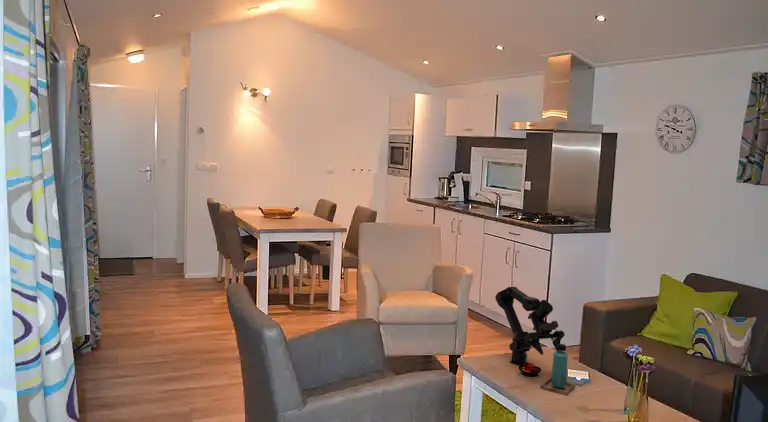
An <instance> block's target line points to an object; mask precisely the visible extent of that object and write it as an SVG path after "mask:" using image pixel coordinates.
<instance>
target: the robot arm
mask: <svg viewBox="0 0 768 422" xmlns="http://www.w3.org/2000/svg"><path fill="white" fill-rule="evenodd" d="M494 297H495V301H496V303H497V305H498V306H499V307H500V308H501V309H502V310H503V311H504V314H505V316H506V319H507V322H508V323H509V326H510V328H511V332H512V339H511V341H512V342H511V343H510V344H509V346H508V347H509V350H510V351H511V360H510V362H509V363H511V364H515V365H518V366H524V365H525V364H526V363H528V354H527V352H530V350H531V349H532V348H534V349H535V350H536V351H537V352H538V353H539V354H540V355H542V356H543V355H544V350H543V348H542V346H541V343H540V340H543V339H544V340H545V339H551V341H552V342H551V343H552V345H553V346H554V348H555V350H556V351H560V350H557V349H556V348H557V344H561V341H562V339H564V337H565V335H566V334H565V332H564V331H563V330H557V328H559V323H558V321H557V320H552V321H551V322H548V321H546V319H545V318H547V317H548V316H549V315H550V314H551V313H552V312H553V309H554V308H553V305H552V304H551V303H550V302H548V301H547V299H541V300H540V299H539V298H536V297H533V296H528V295H527V294H526V293H524V292H523V291H522V290H520V289H519V288H518V287H517V286H508V287H506V288H504V289H503V290H500V291H499V292H497V294H495V296H494ZM515 300H516V301H518V302H519V303H520V304H521V308H523V309H524V310H525V311H526V312H529V313H528V317H527V319H528V320H531V323H532V325H533V327H532V329H533V332H529V331H524V330H523V328H522V326H521V323H520V320H519V317H518V315H517V313H516V310H515V308H514V303H515ZM554 330H555V331H554ZM534 331H535V332H534ZM552 332H553V333H552ZM531 347H532V348H531ZM523 364H524V365H523Z"/></svg>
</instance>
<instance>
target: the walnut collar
mask: <svg viewBox="0 0 768 422" xmlns="http://www.w3.org/2000/svg"><path fill="white" fill-rule="evenodd" d="M551 380H552V378H551V377H548V378H547V379H546V380H545V381H543V382H542V383H541V384H540V388H539V389H541V390H545V391H548V392H552V393H556V394H559V395H564V396H568V395H570V394H571V392H572V391H574V389H575V388H576V385H575V384H573V383H569V382H566V385H565V387H568V388H567V389H566V390H563V389H561V388H557V387H556V388H555V387H552V386H549V384H550V383H551Z"/></svg>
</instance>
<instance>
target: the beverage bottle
mask: <svg viewBox="0 0 768 422" xmlns="http://www.w3.org/2000/svg"><path fill="white" fill-rule="evenodd" d="M556 349H557V350H560V351H557V350H556ZM555 350H556V351H554V353H553V358H552V367H551V377H550V378H552V380H551V382H550V383H551V385H552V386H553V387H554V388H555V387H556V388H565V387H566V386H565V385H566V378H567V377H566V374H568V360H569V359H568V358H569V355H568V352H566V351H567V345H566V344H564V343H560V344H557V348H555Z"/></svg>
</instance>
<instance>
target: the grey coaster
mask: <svg viewBox="0 0 768 422" xmlns="http://www.w3.org/2000/svg"><path fill="white" fill-rule="evenodd" d="M566 382H569V383H573V384H575V386H578V387H583V386H584V385H585V384H586V383H587V381H576V380H568V379H567V378H566ZM585 382H586V383H585ZM584 383H585V384H584Z"/></svg>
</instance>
